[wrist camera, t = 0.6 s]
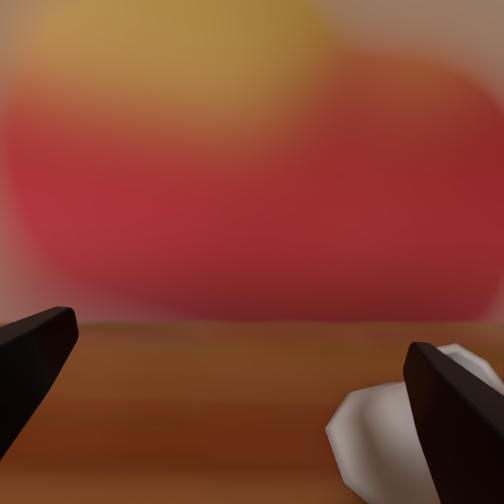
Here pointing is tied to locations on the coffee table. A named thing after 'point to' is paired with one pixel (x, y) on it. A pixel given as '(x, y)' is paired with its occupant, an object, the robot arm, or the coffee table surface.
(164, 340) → the coffee table surface
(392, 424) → the flask
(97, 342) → the coffee table surface
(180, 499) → the coffee table surface
